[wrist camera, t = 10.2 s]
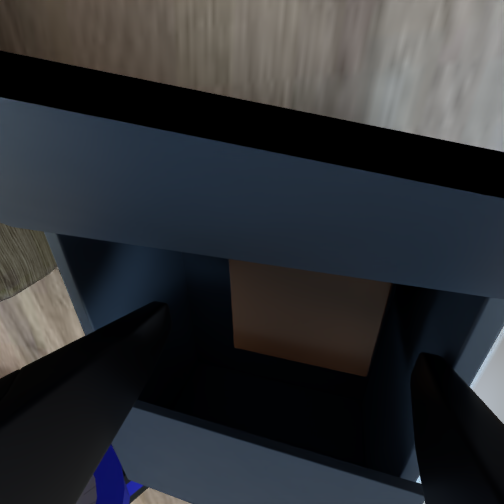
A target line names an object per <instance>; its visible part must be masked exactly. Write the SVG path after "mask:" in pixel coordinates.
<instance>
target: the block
mask: <svg viewBox="0 0 504 504" xmlns="http://www.w3.org/2000/svg"><path fill="white" fill-rule="evenodd" d="M229 273H230V290H231V307H232V325H233V342H234V347H235V348H238V349H243V350H247V351H252V352H256V353H261V354H265V355H269V356H274V357H278V358H283V359H287V360H292V361H296V362H301V363H305V364H310V365H314V366H319V367H323V368H328V369H332V370H336V371H341V372H345V373H350V374H354V375H359V376H363V377H367V375H368V372H369V368H370V365H371V361H372V357H373V354H374V350H375V347H376V343H377V340H378V336H379V333H380V329H381V325H382V322H383V318H384V315H385V311H386V308H387V304H388V301H389V297H390V293H391V290H392V286H393V283H389V282H382V281H376V280H369V279H362V278H355V277H348V276H342V275H335V274H328V273H321V272H315V271H308V270H301V269H294V268H287V267H281V266H274V265H267V264H260V263H253V262H247V261H240V260H233V259H229Z"/></svg>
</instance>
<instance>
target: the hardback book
mask: <svg viewBox="0 0 504 504" xmlns="http://www.w3.org/2000/svg"><path fill="white" fill-rule="evenodd" d="M56 267H57V264H56V261H55V259H54V256H53V254H52V251H51V249H50V246H49V244H48V241H47V239H46V236H45V234H44V232H43V231H36V230H30V229H23V228H16V227H11V226H8V225H5V224H3V223H0V301H3V300H5V299H8V298H10V297H13V296H15V295H16V294H18V293H19V292H21V291H23V290H24V289H26V288H27V287H29V286H30V285H32V284H34V283H35V282H37V281H38V280H40V279H42V278H43V277H45V276H46V275H48V274H50V273H51V272H52V271H53V270H54V269H55V268H56Z"/></svg>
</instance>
